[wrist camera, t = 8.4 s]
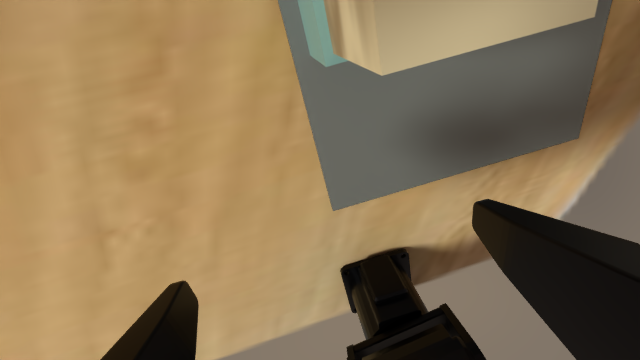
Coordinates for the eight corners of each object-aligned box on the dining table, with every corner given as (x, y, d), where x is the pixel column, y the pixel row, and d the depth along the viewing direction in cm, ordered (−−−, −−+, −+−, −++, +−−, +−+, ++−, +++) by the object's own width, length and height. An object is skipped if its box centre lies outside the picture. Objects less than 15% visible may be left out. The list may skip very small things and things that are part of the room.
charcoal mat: (571, 135, 24) (578, 138, 24) (331, 206, 24) (333, 211, 23) (673, -304, 13) (689, -317, 13) (226, -196, 12) (225, -205, 12)
